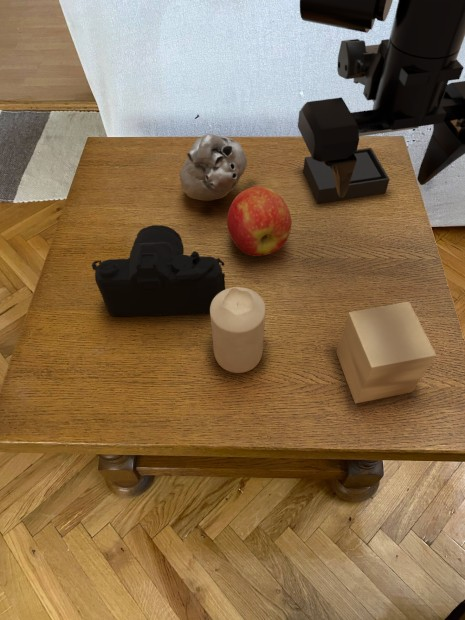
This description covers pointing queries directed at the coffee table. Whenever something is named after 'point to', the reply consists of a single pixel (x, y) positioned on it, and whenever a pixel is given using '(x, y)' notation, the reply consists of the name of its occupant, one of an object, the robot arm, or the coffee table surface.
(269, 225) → the apple
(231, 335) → the candle
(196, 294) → the film camera
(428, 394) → the coffee table surface
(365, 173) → the black block
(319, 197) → the black tray
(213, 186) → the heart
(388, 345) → the beige wooden block
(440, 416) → the coffee table surface
